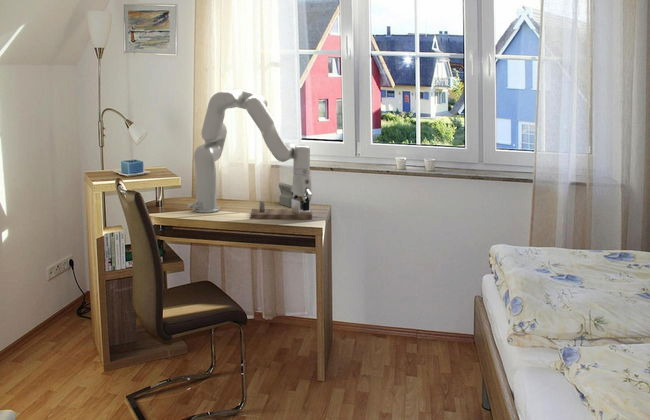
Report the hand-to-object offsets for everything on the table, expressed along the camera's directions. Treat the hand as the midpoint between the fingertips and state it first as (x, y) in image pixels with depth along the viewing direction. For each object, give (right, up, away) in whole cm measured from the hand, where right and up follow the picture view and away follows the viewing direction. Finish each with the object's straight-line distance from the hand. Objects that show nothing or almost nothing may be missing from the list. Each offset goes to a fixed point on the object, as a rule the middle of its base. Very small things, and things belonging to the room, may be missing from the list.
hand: (300, 208), depth 349 cm
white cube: (0, -2, 0) cm, 2 cm away
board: (-9, -4, 0) cm, 10 cm away
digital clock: (-6, +2, +25) cm, 26 cm away
